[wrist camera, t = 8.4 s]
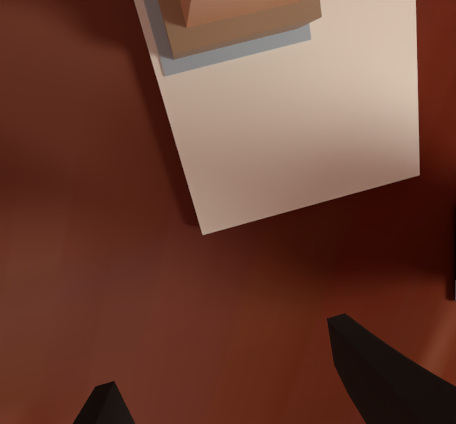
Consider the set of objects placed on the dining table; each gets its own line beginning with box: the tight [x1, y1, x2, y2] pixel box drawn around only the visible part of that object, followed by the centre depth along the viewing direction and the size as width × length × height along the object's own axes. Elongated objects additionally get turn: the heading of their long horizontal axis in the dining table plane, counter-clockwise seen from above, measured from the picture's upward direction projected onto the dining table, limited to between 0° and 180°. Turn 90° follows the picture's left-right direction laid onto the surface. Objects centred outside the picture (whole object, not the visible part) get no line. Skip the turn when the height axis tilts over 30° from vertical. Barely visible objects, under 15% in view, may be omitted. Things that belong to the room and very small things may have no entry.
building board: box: [134, 0, 420, 235], centre depth 16 cm, size 13×16×4 cm
